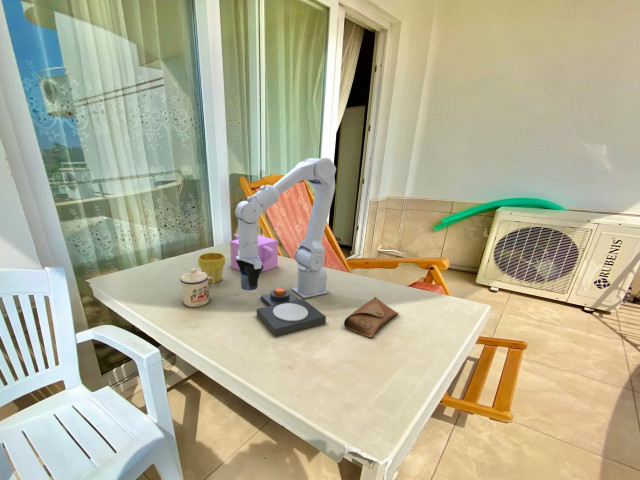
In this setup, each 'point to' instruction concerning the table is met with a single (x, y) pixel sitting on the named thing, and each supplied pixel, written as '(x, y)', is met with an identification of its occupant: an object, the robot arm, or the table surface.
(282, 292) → the button
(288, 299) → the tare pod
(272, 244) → the teapot
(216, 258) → the flower pot
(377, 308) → the sunglasses case
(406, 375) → the table surface
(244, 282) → the blue cup
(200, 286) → the teacup with lid
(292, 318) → the scale
